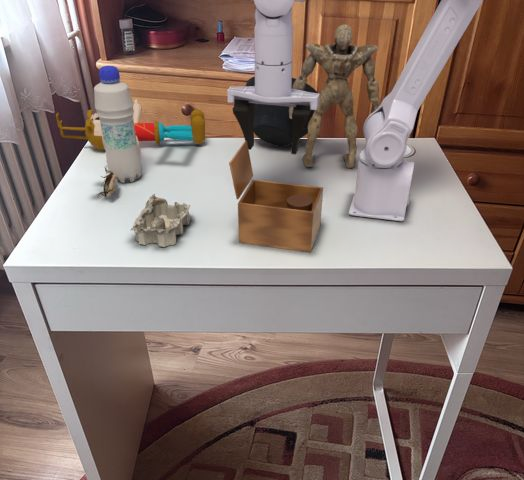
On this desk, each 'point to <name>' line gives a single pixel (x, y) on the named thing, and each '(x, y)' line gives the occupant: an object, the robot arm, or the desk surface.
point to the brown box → (278, 216)
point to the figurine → (338, 86)
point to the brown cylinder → (299, 202)
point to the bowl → (276, 120)
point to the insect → (109, 183)
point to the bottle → (117, 124)
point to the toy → (142, 129)
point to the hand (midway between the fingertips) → (272, 149)
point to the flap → (241, 169)
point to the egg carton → (161, 222)
